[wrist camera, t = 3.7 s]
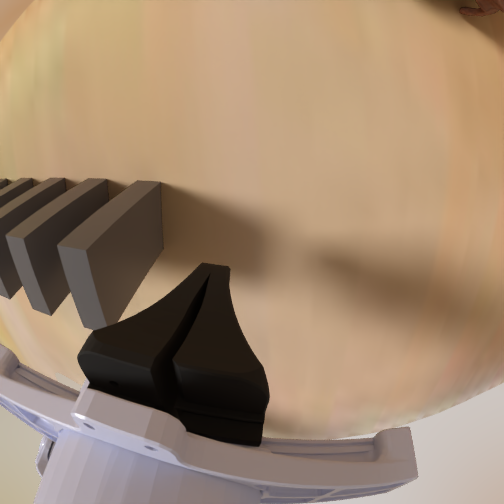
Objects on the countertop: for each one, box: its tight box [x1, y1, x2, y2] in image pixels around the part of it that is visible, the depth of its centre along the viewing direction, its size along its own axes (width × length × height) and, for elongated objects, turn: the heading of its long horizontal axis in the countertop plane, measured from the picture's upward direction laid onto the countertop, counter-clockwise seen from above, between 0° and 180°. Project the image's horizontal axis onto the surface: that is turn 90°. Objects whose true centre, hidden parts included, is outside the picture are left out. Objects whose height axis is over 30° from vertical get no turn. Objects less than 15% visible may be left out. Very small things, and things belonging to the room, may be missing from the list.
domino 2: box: [5, 178, 109, 316], centre depth 15 cm, size 5×2×8 cm, turn 174°
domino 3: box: [0, 178, 66, 299], centre depth 15 cm, size 5×2×8 cm, turn 174°
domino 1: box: [57, 180, 164, 330], centre depth 15 cm, size 5×2×8 cm, turn 174°
